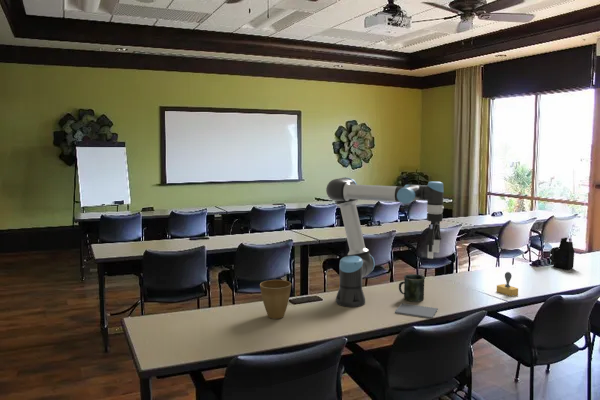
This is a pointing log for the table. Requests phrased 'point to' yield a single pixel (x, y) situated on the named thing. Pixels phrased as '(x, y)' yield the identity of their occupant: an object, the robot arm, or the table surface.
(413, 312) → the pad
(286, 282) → the plant pot
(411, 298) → the mug
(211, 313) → the table surface
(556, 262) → the camera
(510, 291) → the rubber stamp
